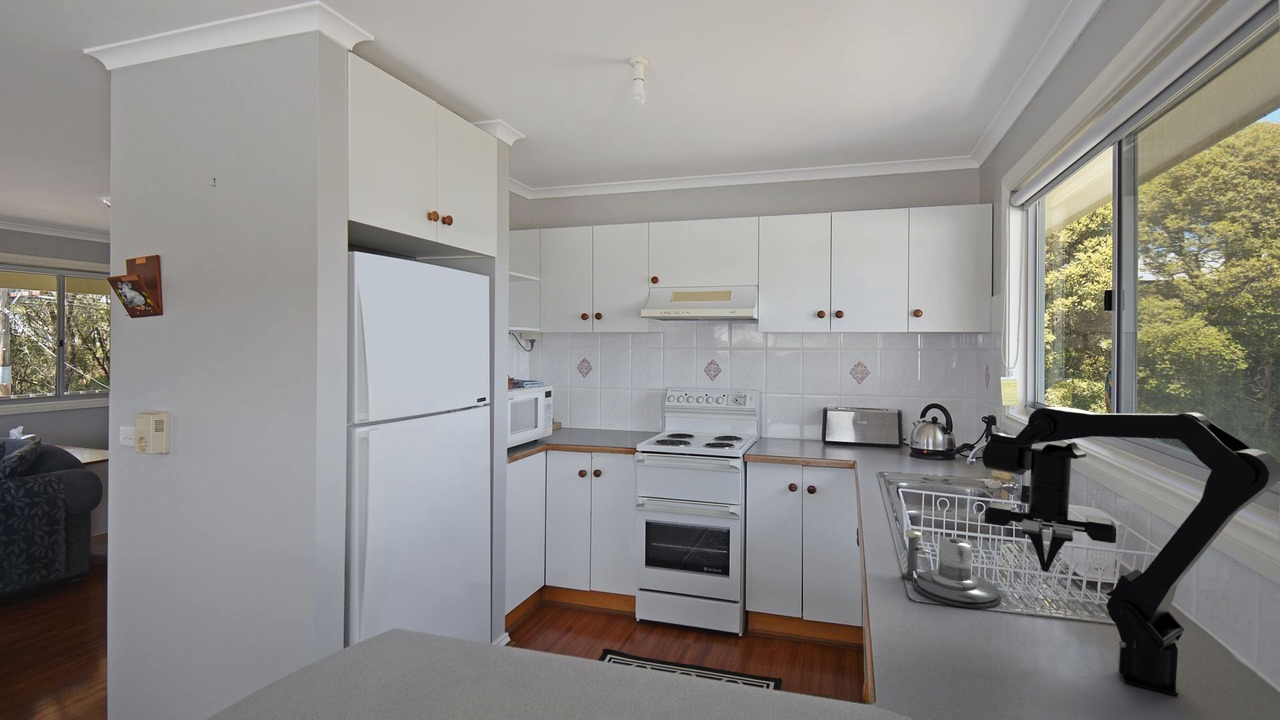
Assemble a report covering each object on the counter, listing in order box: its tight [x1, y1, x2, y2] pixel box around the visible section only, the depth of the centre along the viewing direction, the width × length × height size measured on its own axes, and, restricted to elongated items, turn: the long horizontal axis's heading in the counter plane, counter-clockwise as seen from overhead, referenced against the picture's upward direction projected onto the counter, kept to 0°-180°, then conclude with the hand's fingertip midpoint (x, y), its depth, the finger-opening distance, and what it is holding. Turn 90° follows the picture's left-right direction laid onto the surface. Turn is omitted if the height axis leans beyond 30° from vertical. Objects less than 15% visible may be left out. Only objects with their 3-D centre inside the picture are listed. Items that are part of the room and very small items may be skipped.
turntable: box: [913, 569, 1002, 610], centre depth 134 cm, size 16×16×2 cm
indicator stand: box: [901, 529, 932, 581], centre depth 140 cm, size 5×3×10 cm, turn 40°
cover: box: [931, 536, 977, 591], centre depth 134 cm, size 8×8×9 cm
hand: (1045, 571), depth 113 cm, fingers closed
